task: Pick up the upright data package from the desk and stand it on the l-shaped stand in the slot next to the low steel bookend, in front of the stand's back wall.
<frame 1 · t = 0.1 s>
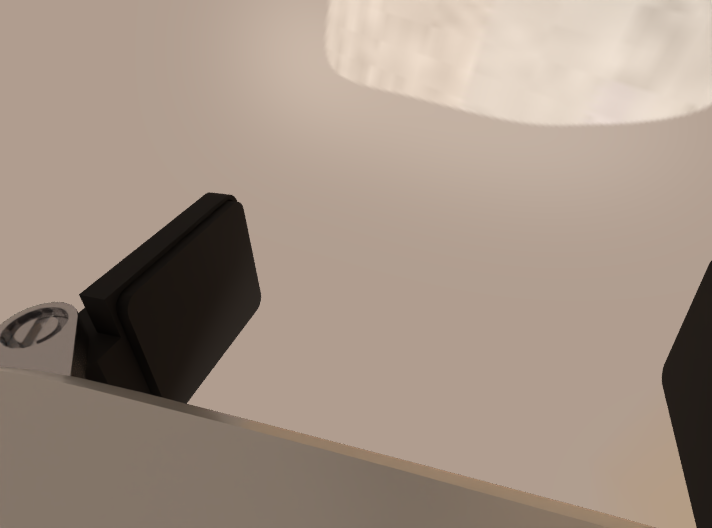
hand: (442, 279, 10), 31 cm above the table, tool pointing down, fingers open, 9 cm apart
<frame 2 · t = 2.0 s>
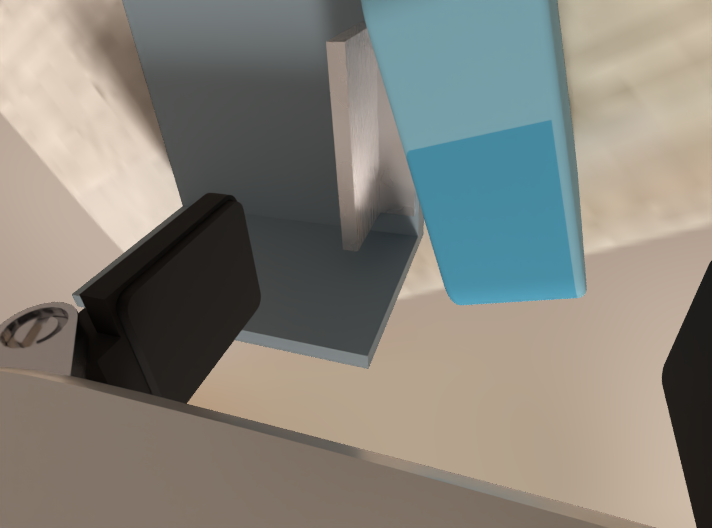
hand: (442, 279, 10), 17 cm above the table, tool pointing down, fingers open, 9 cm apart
l-shaped stand: (288, 116, 28), on the table
data package: (512, 60, 23), on the table
bookend: (372, 126, 26), resting on l-shaped stand
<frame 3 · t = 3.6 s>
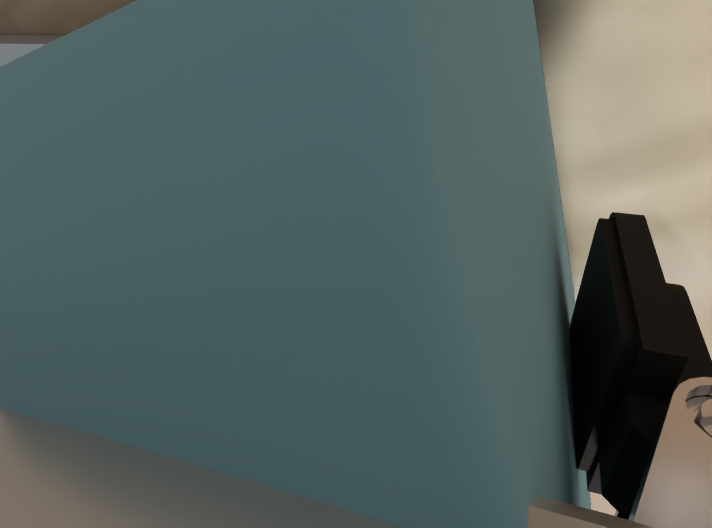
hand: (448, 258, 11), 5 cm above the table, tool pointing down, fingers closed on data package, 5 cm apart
l-shaped stand: (159, 223, 20), on the table
data package: (474, 171, 14), on the table, touching gripper
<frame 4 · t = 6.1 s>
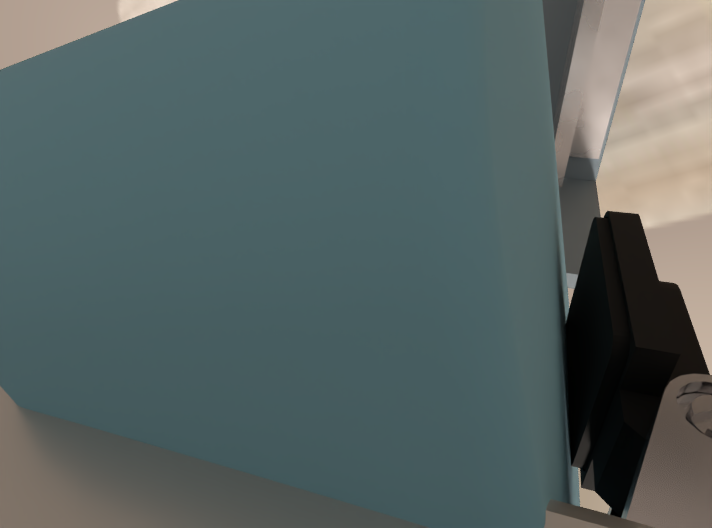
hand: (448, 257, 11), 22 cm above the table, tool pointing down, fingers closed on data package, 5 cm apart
l-shaped stand: (468, 59, 29), on the table
data package: (476, 174, 15), point 17 cm above the table, touching gripper
bookend: (573, 64, 26), resting on l-shaped stand
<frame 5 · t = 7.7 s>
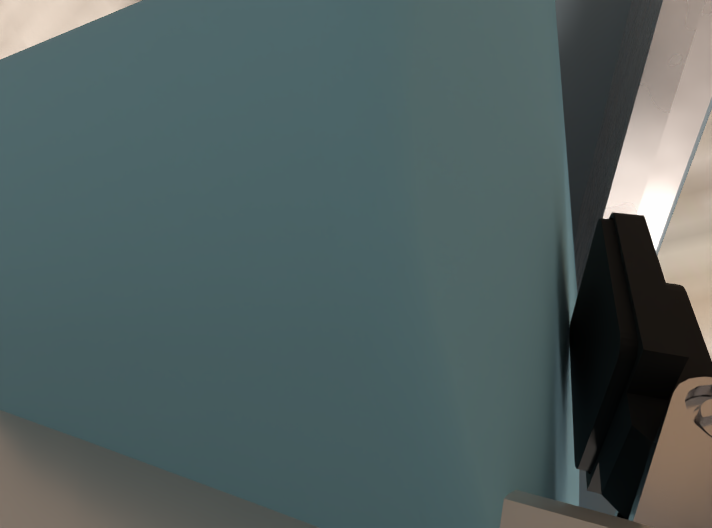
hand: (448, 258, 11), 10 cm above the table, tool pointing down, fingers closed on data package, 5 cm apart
l-shaped stand: (451, 123, 19), on the table
data package: (485, 172, 14), point 6 cm above the table, touching bookend, gripper
bookend: (610, 139, 17), resting on l-shaped stand
when the fingers open (9 cm above the table, at t = 8.6 s): data package drops 4 cm, resting on l-shaped stand.
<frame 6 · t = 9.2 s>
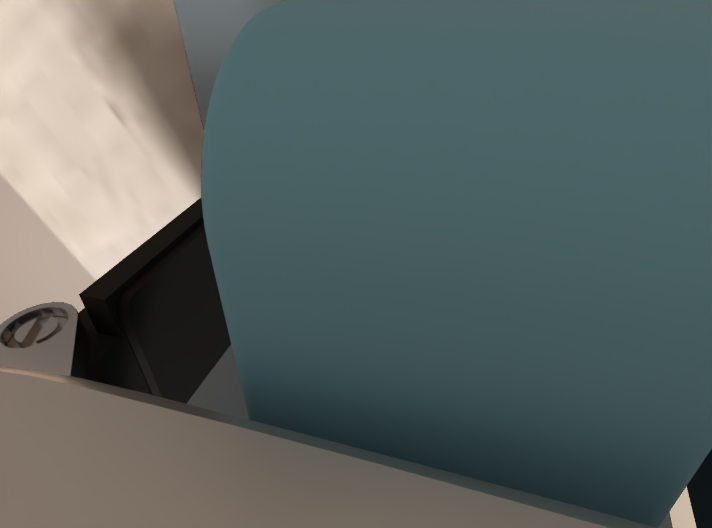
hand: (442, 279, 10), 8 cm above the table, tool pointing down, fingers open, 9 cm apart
l-shaped stand: (427, 157, 18), on the table
data package: (482, 168, 16), point 1 cm above the table, touching l-shaped stand
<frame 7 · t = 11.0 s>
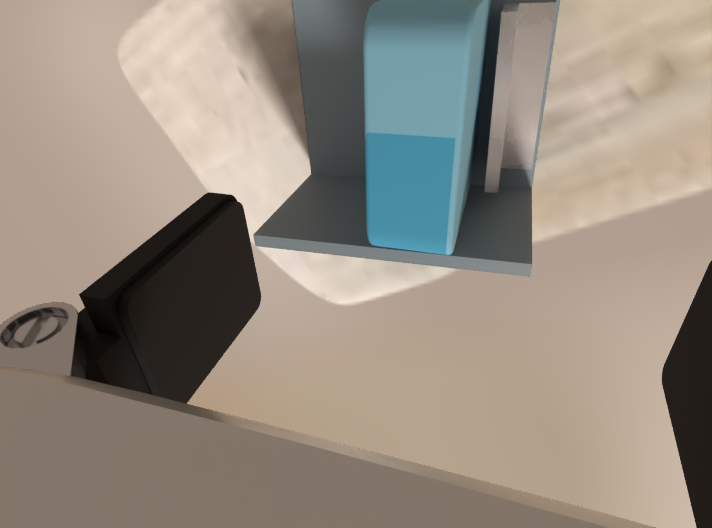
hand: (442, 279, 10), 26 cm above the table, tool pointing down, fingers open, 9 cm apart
l-shaped stand: (419, 89, 34), on the table
data package: (447, 89, 32), point 1 cm above the table, touching l-shaped stand
bookend: (503, 91, 31), resting on l-shaped stand
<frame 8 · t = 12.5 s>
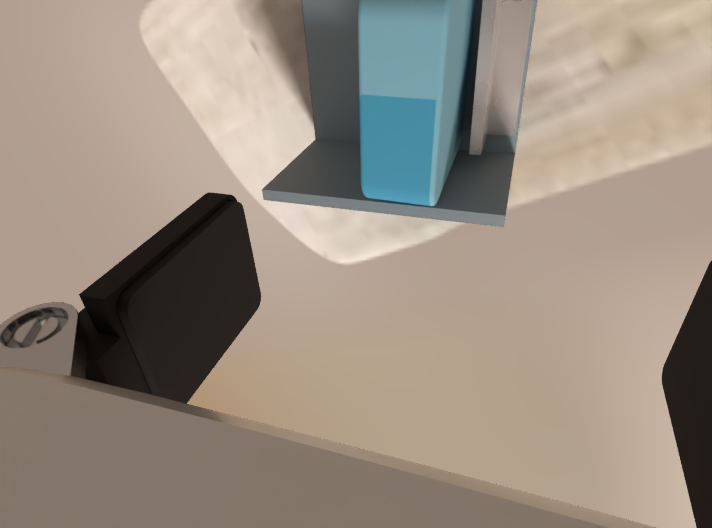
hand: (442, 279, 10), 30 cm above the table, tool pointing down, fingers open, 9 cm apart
l-shaped stand: (414, 61, 37), on the table
data package: (439, 60, 35), point 1 cm above the table, touching l-shaped stand
bookend: (489, 63, 34), resting on l-shaped stand
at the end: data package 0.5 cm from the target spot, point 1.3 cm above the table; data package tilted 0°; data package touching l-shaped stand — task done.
